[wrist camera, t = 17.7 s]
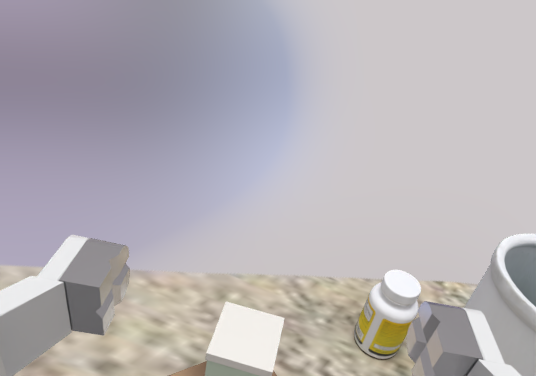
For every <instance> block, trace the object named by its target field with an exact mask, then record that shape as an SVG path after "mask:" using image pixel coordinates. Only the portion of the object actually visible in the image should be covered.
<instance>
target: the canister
mask: <svg viewBox="0 0 536 376" xmlns="http://www.w3.org/2000/svg"><path fill="white" fill-rule="evenodd" d="M283 323H284V318H282V317H279V316H275V315H272V314H268V313H265V312H261V311H258V310H254V309H251V308H247V307H243V306H240V305H236V304H233V303H229V302H226V303H225V305H224V308H223V311H222V313H221V316H220V319H219V321H218V324H217V326H216V329H215V332H214V334H213V337H212V340H211V342H210V345H209V347H208V350H207V353H206V359H205V360H207V364H206V371H205V376H272V373H273V368H274V364H275V359H276V355H277V350H278V346H279V341H280V336H281V332H282V327H283Z"/></svg>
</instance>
